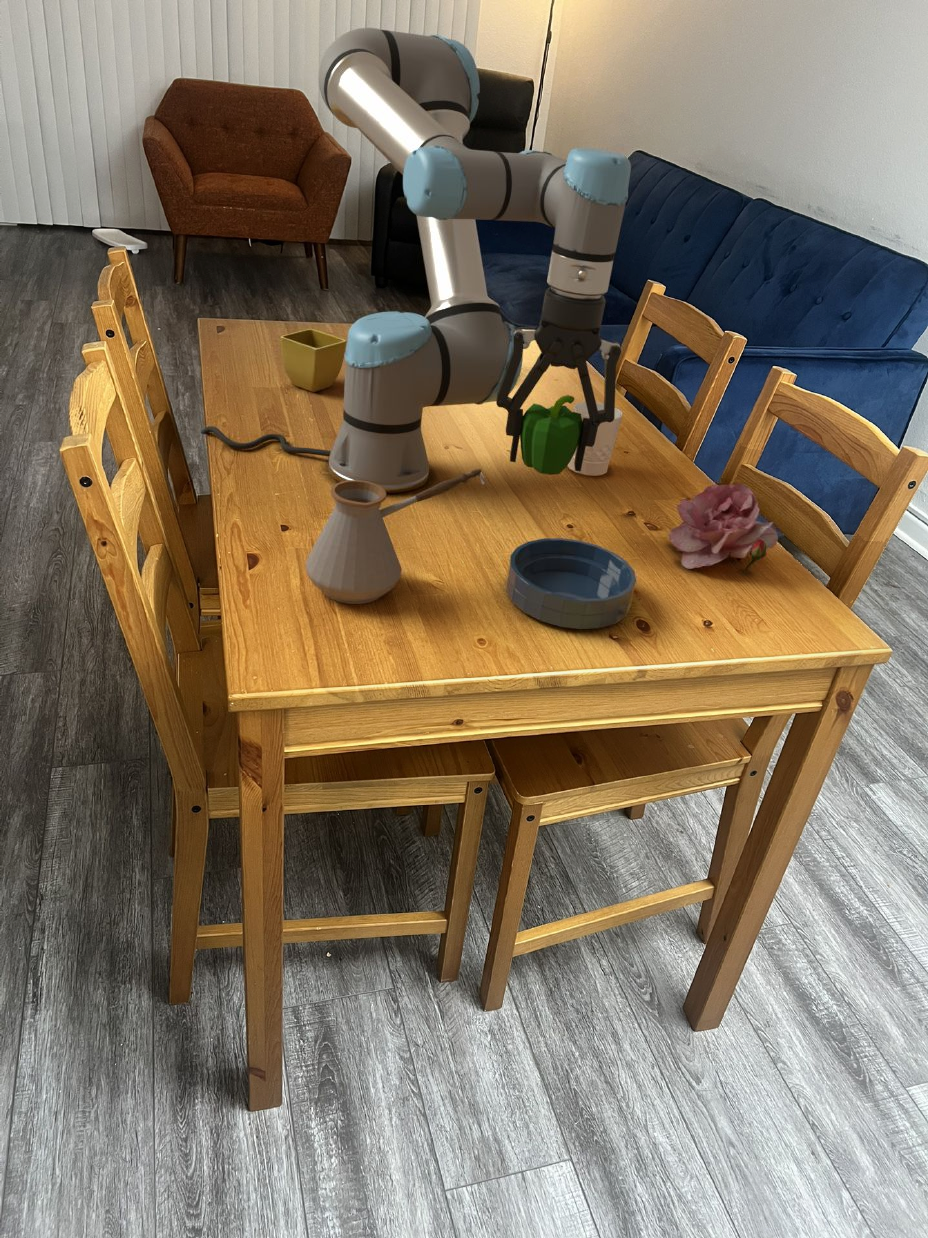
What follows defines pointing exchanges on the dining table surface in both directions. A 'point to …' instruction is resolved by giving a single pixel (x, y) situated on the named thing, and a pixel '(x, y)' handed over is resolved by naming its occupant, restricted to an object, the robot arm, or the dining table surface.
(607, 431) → the white cup
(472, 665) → the dining table surface
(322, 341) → the flower pot
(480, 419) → the dining table surface
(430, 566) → the dining table surface
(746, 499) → the flower
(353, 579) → the coffee pot
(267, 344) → the dining table surface
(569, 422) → the bell pepper
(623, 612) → the bowl
